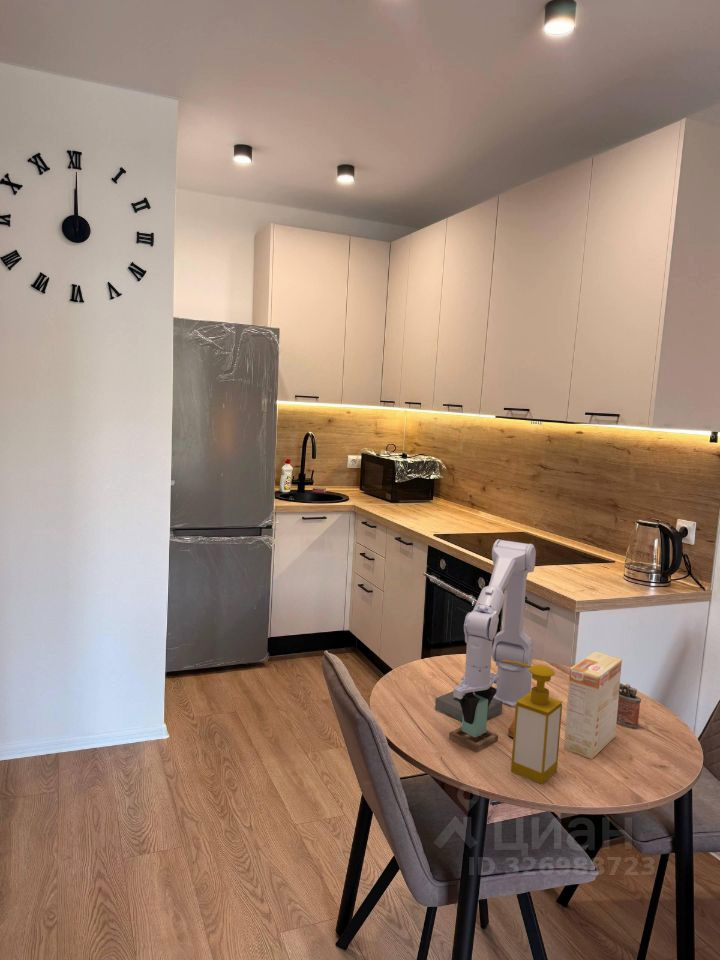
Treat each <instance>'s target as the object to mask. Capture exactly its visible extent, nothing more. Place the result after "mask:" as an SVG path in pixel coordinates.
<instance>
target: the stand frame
mask: <svg viewBox="0 0 720 960" xmlns="http://www.w3.org/2000/svg"><path fill="white" fill-rule="evenodd" d="M466 734H467V733H465V732H463V731H462V726H460V727H458V728H456V729H453V730H451V731H450V732H448V739H449V740H450V741H452V742H455V743H457V744H459V745H460V746H463V747H465V748H467V749H469V750H471V751H472V752H474V753H478V752H480V751H481V750H482V751H483V750H484V749H486V748H488V747H490V746H492V745H493V744H495V743H498V741H499V740H498V739H499V735H498V734H496V733H494V732H491V731H489V730H488V729H486V733H484V734H482V735H480V737H482V738H483V739H481V740H479V741H478V742H476V741H473V740H470V739H469V738H467V737H465V736H464V735H466Z"/></svg>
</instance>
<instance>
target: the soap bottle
mask: <svg viewBox="0 0 720 960" xmlns="http://www.w3.org/2000/svg"><path fill="white" fill-rule="evenodd" d="M503 662H504V663H513V664H519V665H523V666H526V667H529V672H530V673H532V679H533V680H534V681H536V686H531V692H529V693H528V694H526V695H525V696H523V697H522V698H521V699H519V700H518V701H516V703H517V704H516V706H515V708H514V709H515V712H514V721H515V723H514V737H512V738H513V741H512V752H511V764H510V765H511V767H510V771H511V772H512V773H514V774H517V775H518V776H522V777H524V778H526V779H529V780H531V781H533V782H536V783H538V784H541V785H544V784H545V783H546V782H547V781H548V780H549V779H550V778H551V777H552V776H553V775H554V774H555V773H557V771H558V761H559V751H560V750H559V747H560V737H561V725H562V724H561V723H562V713H563V701H562V700H559V699H556V698H552V697H549V696H550V690H549V689H548V688H546V687H545V685H546V683H549V682H550V681H551V680H552V679H551V678H552V677H553V676H555V675H556V672H555V670H554V669H552V668H551V667H549V666H547V665H546V664H535V665H531V666H530V665H527V664H523V663H520V662H515V661H506V660H503Z"/></svg>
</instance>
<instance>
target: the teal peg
mask: <svg viewBox="0 0 720 960" xmlns="http://www.w3.org/2000/svg"><path fill="white" fill-rule="evenodd" d="M474 696H476V697H478V698H480V700H479V702H478V704H477V707H476V710H475V717H474V721H473V724H469V723H467V722H464V717H462V722H461V727H462V731H463V732H465V733H466V734H467V735H469V736H471V737H473V738H478V737H479V736H480V735H482V734H484V733H486V730H487V723H488V720H487V710H488V699H486V698H484V697H481V696H479V695H477V694H474ZM480 737H481V736H480Z"/></svg>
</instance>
